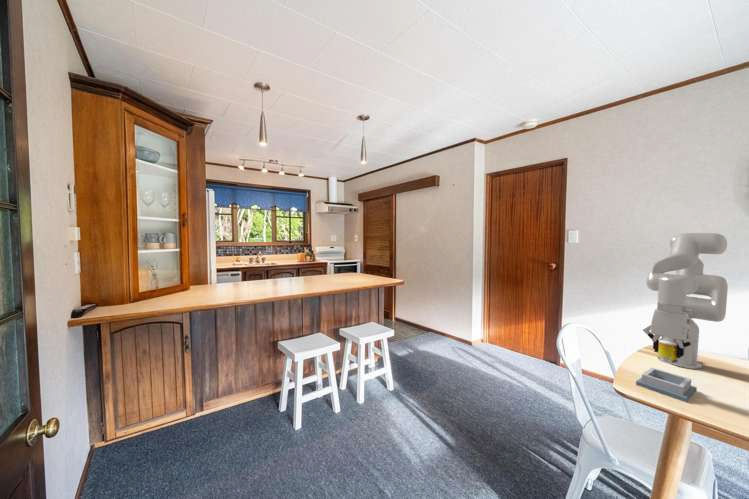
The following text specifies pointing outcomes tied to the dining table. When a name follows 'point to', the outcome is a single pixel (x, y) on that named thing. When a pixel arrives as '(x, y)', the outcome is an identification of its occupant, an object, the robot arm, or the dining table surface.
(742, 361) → the dining table surface
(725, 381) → the dining table surface
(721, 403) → the dining table surface
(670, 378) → the tray
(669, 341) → the supplement bottle
